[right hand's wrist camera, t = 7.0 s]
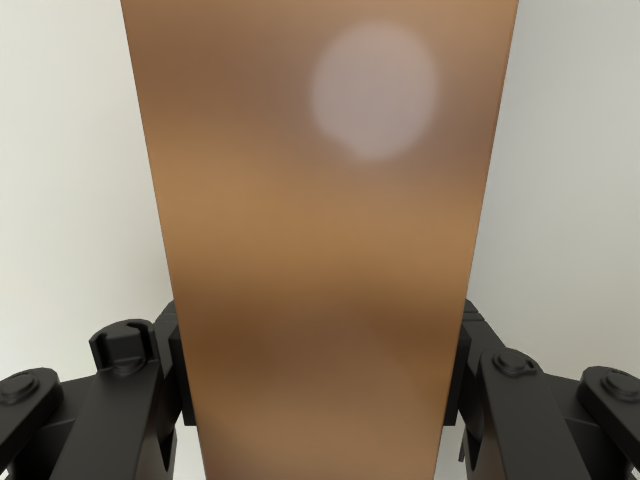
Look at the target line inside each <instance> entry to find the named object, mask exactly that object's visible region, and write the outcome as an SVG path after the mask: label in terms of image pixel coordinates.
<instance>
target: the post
mask: <svg viewBox="0 0 640 480" xmlns="http://www.w3.org/2000/svg"><path fill="white" fill-rule="evenodd" d="M120 1H121V6H122V12H123V18H124V23H125V29H126V34H127V40H128V46H129V51H130V57H131V62H132V68H133V73H134V79H135V85H136V90H137V96H138V101H139V107H140V113H141V118H142V124H143V129H144V135H145V141H146V146H147V152H148V157H149V163H150V169H151V174H152V180H153V185H154V191H155V196H156V202H157V208H158V213H159V219H160V224H161V230H162V236H163V241H164V247H165V252H166V258H167V264H168V269H169V275H170V280H171V286H172V291H173V297H174V303H175V308H176V314H177V319H178V325H179V331H180V336H181V342H182V347H183V353H184V359H185V364H186V370H187V375H188V381H189V386H190V392H191V398H192V403H193V409H194V414H195V420H196V426H197V431H198V437H199V442H200V448H201V454H202V459H203V465H204V470H205V476H206V480H433V479H434V473H435V468H436V462H437V457H438V451H439V445H440V440H441V434H442V428H443V423H444V417H445V412H446V406H447V400H448V395H449V389H450V384H451V378H452V372H453V367H454V361H455V355H456V350H457V344H458V339H459V333H460V327H461V322H462V316H463V310H464V305H465V299H466V294H467V288H468V282H469V277H470V271H471V266H472V260H473V254H474V249H475V243H476V237H477V232H478V226H479V221H480V215H481V209H482V204H483V198H484V193H485V187H486V181H487V176H488V170H489V164H490V159H491V153H492V148H493V142H494V136H495V131H496V125H497V119H498V114H499V108H500V103H501V97H502V91H503V86H504V80H505V75H506V69H507V63H508V58H509V52H510V46H511V41H512V35H513V30H514V24H515V18H516V13H517V7H518V2H519V0H120Z"/></svg>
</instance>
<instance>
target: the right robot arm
mask: <svg viewBox="0 0 640 480" xmlns="http://www.w3.org/2000/svg"><path fill="white" fill-rule="evenodd" d="M89 344H90V347H91V351H92V354H93V357H94V361H95V364H96V367H97V373H96V375H92V376H88V377H84V378H79V379H75V380H70V381H66V382H61V383H60V380H59V378H58V375H57V373H56V372H55V371H54V370H52V369H49V368H35V369H29V370H25V371H22V372H19V373H16V374H13V375H12V376H10V377H8V378H6V379H4V380H2V381H0V475H1V474H2V473H3V472H4V470H5V469H7V471H8V473H9V475H8V476H7V477H6V478H5V480H173V472H174V463H175V454H176V445H177V435H176V429H175V423H176V421H177V419H178V417H179V415H180V412H181V410H182V414H183V420H184V425H185V426H196V420H195V414H194V409H193V403H192V398H191V392H190V386H189V381H188V375H187V370H186V364H185V359H184V353H183V347H182V342H181V336H180V331H179V325H178V319H177V314H176V308H175V303H174V300H173V301H171V302H170V303H169V304H168V305H167V306H166V308H165V309H164V310H163V311H162V314H161V315H159V317H158V318H157V319H156V321H155V323H153V324H152V323H151V322H150V321H148V320H143V319H128V320H124V321H119V322H116V323H113V324H111V325H109V326H106V327H104V328H103V329H101V330H100V331H98V332H97V333H95V334H94V335H93V336H92V338H91V339H90V340H89ZM458 409H459V411H460V413H461V416H462V418H463V420H464V422H465V429H464V434H463V439H462V443H461V448H460V453H459V460H458V461H460V462H463V460H464V456H465V462H466V471H467V479H468V480H637V479H636V478H635V477H634V475H633V474H632V473H631V472H632V470H633V468H634V467H635V468H636V469H637V470H638V472H639V473H640V379H638V378H636V377H634V376H632V375H630V374H628V373H626V372H623V371H621V370H617V369H613V368H609V367H602V366H594V367H588V368H587V369H586V370H585V371H583V374H582V377H581V379H580V381H577V380H572V379H568V378H563V377H558V376H554V375H550V374H546V373H544V372H543V370H542V369H541V368H540V366H539V365H538V363H537V362H535V361H534V360H533V359H532V358H530V357H529V356H528V355H526V354H523V353H521V352H519V351H517V350H514V349H510V348H507V347H506V346H505V345H504V344H503V343H502V341H501V340H500V339H499V337H498V336H497V335H496V334H495V332H494V331H493V330H492V328H491V327H490V326H489V324H488V323H487V322H485V319H484V318H483V317H482V315H481V314H480V313H478V310H477V309H476V308H475V306H474V305H473V304H472V303H471V302H470V301H469V300H467V299H465V305H464V310H463V316H462V322H461V327H460V333H459V339H458V344H457V350H456V355H455V361H454V367H453V372H452V378H451V384H450V389H449V395H448V400H447V406H446V412H445V417H444V423H443V426H455V423H456V418H457V413H458Z"/></svg>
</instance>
